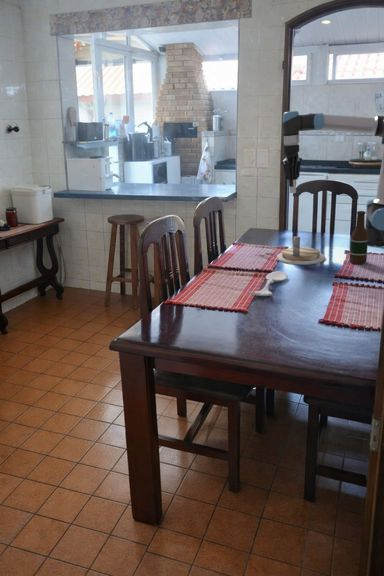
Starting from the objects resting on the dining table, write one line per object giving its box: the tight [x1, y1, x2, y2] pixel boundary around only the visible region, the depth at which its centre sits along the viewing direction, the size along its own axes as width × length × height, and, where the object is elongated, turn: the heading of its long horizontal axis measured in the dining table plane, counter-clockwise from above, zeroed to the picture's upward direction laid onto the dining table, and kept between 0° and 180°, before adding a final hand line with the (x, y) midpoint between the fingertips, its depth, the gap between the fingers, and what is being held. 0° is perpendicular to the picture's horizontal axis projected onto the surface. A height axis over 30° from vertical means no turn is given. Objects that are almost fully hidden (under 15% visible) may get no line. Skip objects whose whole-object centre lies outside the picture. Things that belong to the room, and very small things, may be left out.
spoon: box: [249, 270, 289, 297], centre depth 211 cm, size 9×32×4 cm, turn 157°
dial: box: [281, 236, 321, 261], centre depth 249 cm, size 18×18×11 cm
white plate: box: [276, 252, 326, 266], centre depth 251 cm, size 23×23×1 cm
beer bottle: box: [349, 210, 369, 265], centre depth 237 cm, size 8×8×24 cm
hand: (292, 192), depth 259 cm, fingers closed
